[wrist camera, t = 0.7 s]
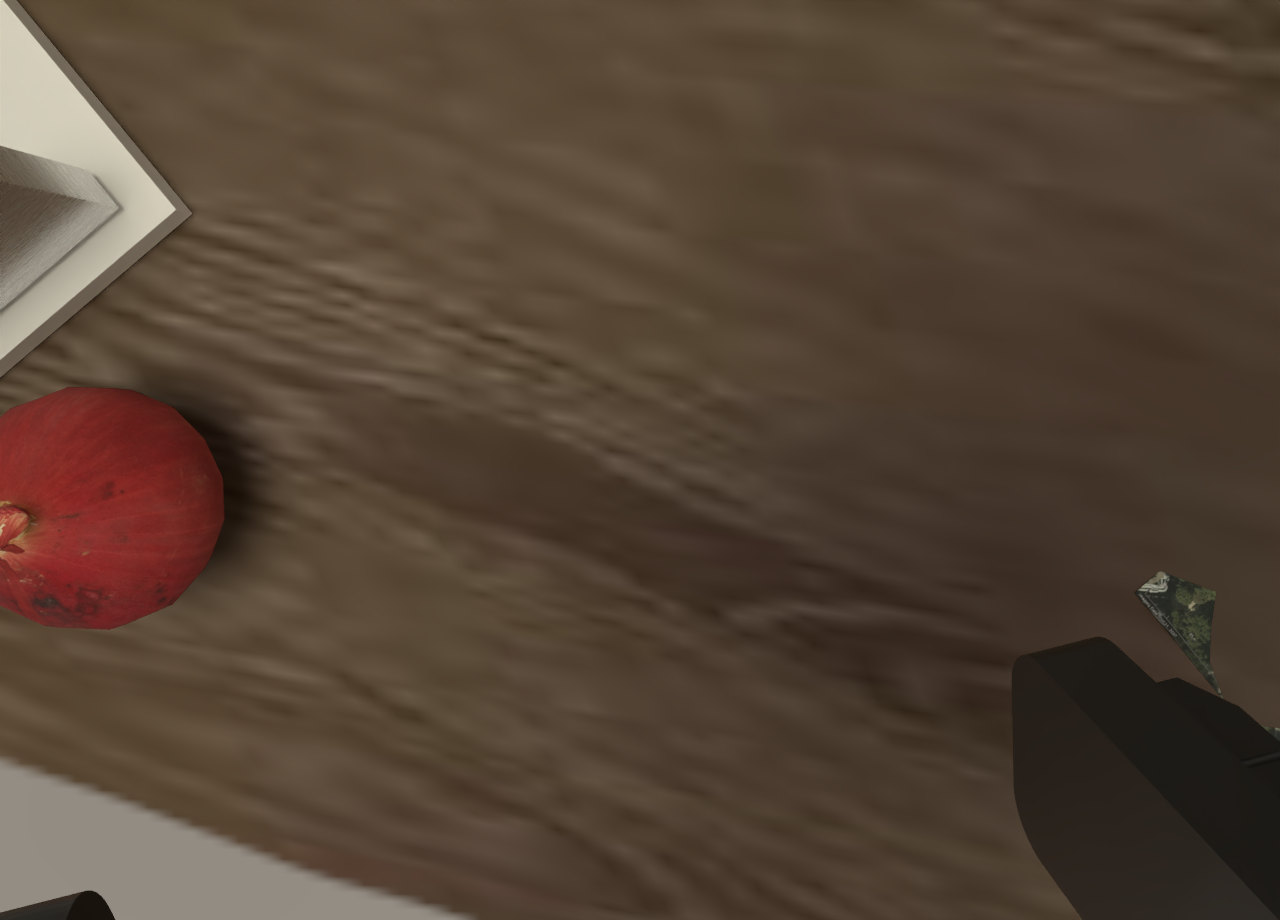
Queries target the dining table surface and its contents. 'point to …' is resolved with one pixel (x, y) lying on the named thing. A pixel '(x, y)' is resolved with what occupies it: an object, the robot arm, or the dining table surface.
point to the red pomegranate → (102, 507)
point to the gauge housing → (85, 138)
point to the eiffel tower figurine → (1186, 620)
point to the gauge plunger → (43, 215)
